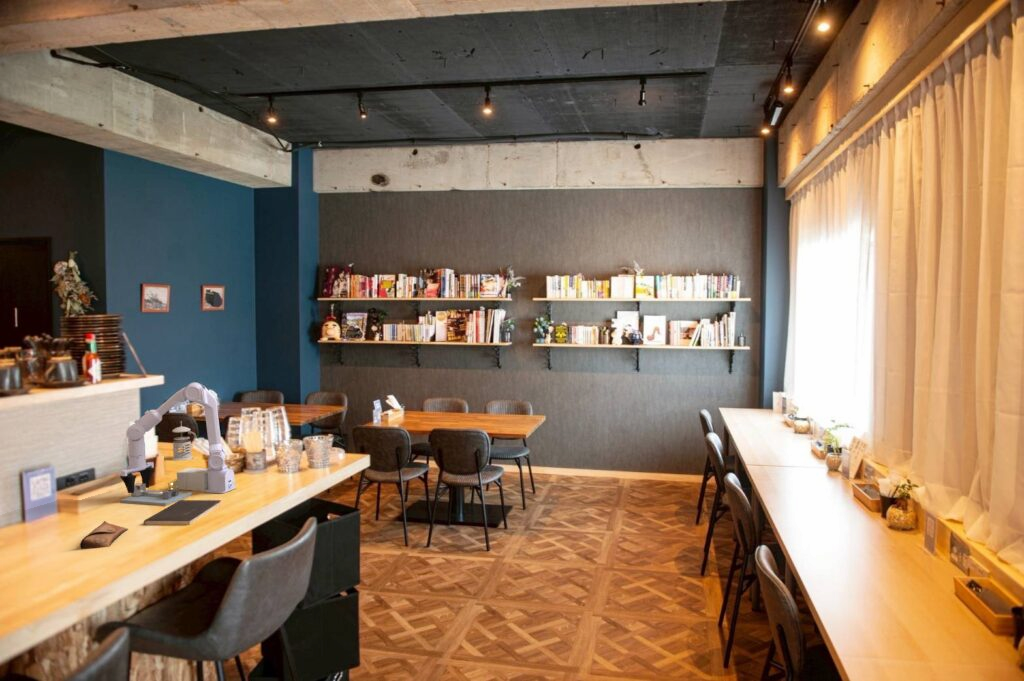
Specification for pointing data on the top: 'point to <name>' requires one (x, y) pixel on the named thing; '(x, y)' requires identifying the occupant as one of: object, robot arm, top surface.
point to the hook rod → (143, 490)
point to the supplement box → (193, 479)
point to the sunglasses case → (102, 536)
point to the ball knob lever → (173, 484)
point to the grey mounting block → (170, 493)
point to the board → (154, 499)
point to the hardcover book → (182, 512)
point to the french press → (182, 444)
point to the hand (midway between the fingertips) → (138, 490)
